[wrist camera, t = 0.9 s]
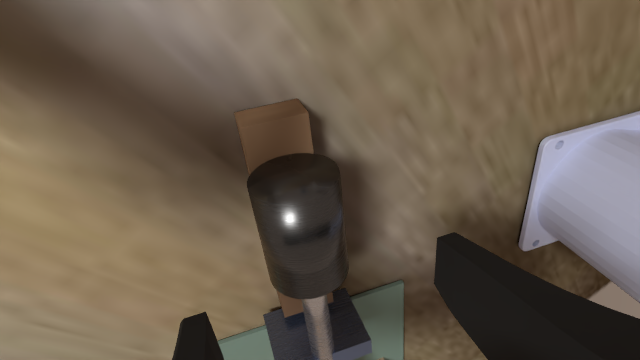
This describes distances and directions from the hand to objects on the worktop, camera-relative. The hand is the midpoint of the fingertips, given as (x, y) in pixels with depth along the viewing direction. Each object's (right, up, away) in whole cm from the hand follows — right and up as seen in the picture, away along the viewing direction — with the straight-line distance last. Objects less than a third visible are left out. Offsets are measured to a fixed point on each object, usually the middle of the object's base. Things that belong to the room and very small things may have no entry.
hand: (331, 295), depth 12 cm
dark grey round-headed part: (-2, +1, +7) cm, 7 cm away
